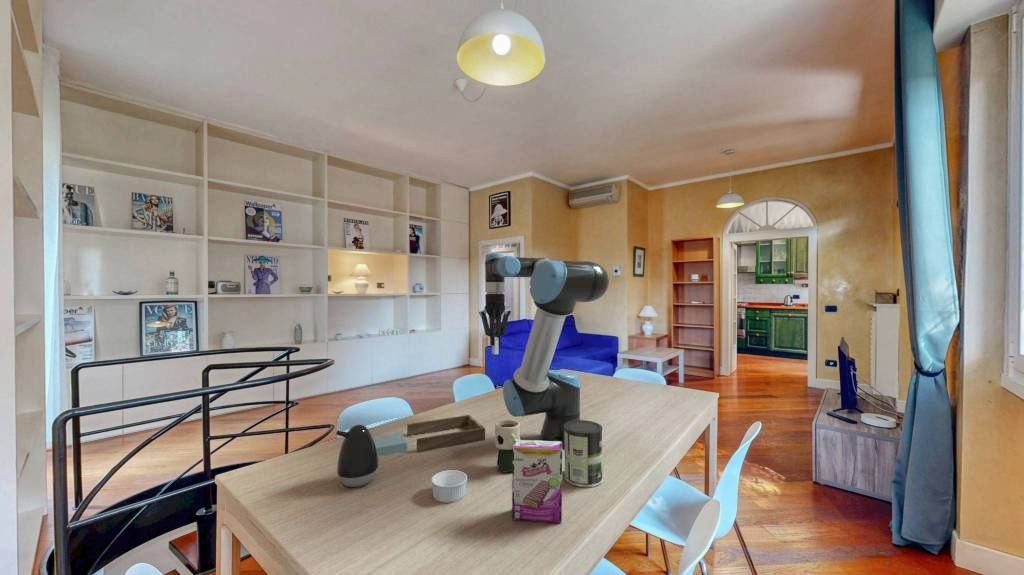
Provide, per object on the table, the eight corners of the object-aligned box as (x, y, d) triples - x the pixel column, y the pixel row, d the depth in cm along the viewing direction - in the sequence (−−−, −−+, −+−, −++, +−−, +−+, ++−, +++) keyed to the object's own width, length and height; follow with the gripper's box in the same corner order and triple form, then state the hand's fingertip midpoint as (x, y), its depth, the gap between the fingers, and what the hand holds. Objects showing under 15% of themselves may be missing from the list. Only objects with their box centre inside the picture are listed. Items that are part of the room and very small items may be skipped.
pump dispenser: (336, 477, 106) (336, 421, 106) (376, 470, 110) (376, 416, 110) (335, 495, 97) (335, 434, 97) (379, 487, 101) (379, 428, 101)
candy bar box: (511, 521, 86) (511, 447, 86) (513, 509, 91) (513, 438, 91) (562, 524, 85) (562, 448, 85) (562, 511, 90) (561, 440, 90)
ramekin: (436, 485, 102) (436, 469, 102) (469, 486, 101) (469, 470, 101) (427, 504, 93) (427, 486, 93) (463, 505, 93) (463, 487, 93)
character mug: (489, 463, 115) (489, 419, 115) (512, 459, 117) (512, 416, 117) (502, 480, 105) (502, 431, 105) (526, 475, 107) (526, 428, 107)
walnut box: (485, 439, 133) (485, 428, 133) (417, 452, 123) (417, 439, 123) (469, 425, 147) (469, 414, 147) (407, 435, 137) (407, 424, 137)
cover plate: (406, 452, 124) (406, 442, 124) (370, 459, 119) (370, 449, 119) (400, 441, 133) (400, 432, 133) (366, 447, 128) (366, 438, 128)
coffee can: (598, 469, 111) (598, 419, 111) (606, 487, 100) (606, 433, 100) (561, 469, 111) (561, 419, 111) (566, 487, 100) (566, 432, 100)
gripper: (505, 293, 158) (505, 351, 158) (475, 293, 152) (476, 353, 152) (514, 293, 152) (514, 353, 151) (483, 293, 146) (483, 356, 145)
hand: (495, 353), depth 152 cm, fingers closed
